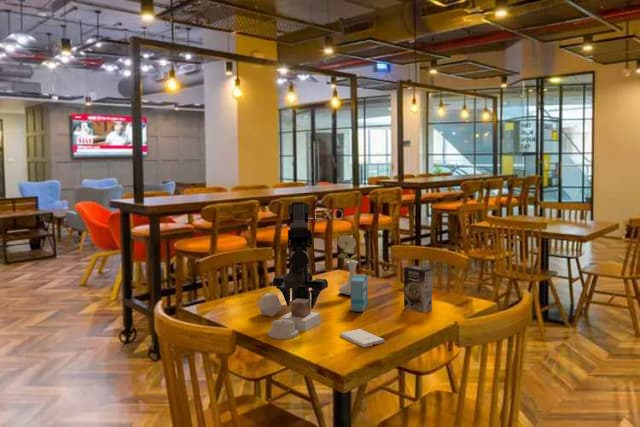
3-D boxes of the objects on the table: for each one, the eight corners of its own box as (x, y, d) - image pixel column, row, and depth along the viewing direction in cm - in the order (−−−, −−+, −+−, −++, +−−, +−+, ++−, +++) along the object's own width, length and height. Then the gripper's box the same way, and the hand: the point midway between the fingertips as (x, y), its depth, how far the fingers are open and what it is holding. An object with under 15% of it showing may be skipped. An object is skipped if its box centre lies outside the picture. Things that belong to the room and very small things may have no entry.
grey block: (280, 328, 188) (280, 317, 188) (295, 320, 197) (295, 309, 196) (305, 332, 183) (305, 320, 183) (320, 324, 192) (320, 313, 192)
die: (286, 316, 203) (280, 292, 208) (278, 310, 196) (272, 285, 200) (266, 323, 205) (261, 299, 209) (257, 317, 197) (252, 293, 202)
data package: (362, 313, 204) (362, 281, 202) (350, 312, 205) (350, 280, 203) (367, 304, 215) (367, 274, 214) (356, 304, 216) (356, 274, 215)
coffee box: (403, 308, 209) (403, 267, 207) (412, 305, 213) (412, 264, 212) (423, 313, 202) (424, 270, 201) (433, 309, 207) (433, 267, 205)
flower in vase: (370, 292, 234) (370, 234, 231) (357, 298, 224) (357, 238, 222) (344, 289, 241) (343, 232, 238) (330, 294, 231) (329, 235, 229)
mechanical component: (262, 336, 179) (287, 341, 174) (261, 323, 178) (286, 328, 173) (279, 328, 187) (304, 333, 182) (279, 315, 187) (304, 320, 182)
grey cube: (291, 316, 188) (291, 302, 188) (297, 312, 193) (297, 298, 192) (304, 317, 186) (304, 303, 186) (310, 313, 191) (310, 299, 191)
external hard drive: (360, 333, 182) (384, 343, 172) (340, 338, 178) (363, 348, 167) (360, 328, 182) (384, 338, 172) (340, 333, 177) (363, 343, 167)
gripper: (264, 265, 184) (265, 310, 186) (314, 269, 177) (315, 316, 178) (279, 259, 194) (280, 302, 196) (328, 262, 187) (328, 307, 189)
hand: (300, 307), depth 189 cm, fingers open, 9 cm apart
